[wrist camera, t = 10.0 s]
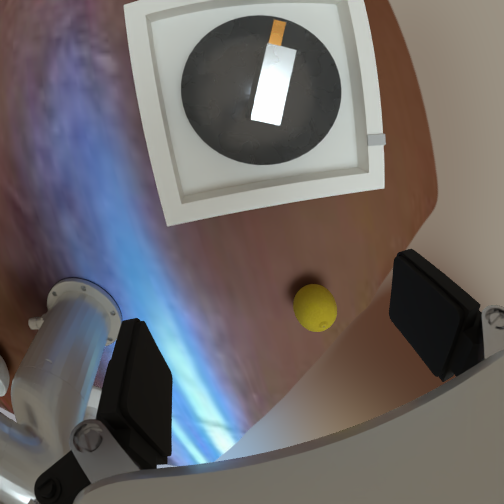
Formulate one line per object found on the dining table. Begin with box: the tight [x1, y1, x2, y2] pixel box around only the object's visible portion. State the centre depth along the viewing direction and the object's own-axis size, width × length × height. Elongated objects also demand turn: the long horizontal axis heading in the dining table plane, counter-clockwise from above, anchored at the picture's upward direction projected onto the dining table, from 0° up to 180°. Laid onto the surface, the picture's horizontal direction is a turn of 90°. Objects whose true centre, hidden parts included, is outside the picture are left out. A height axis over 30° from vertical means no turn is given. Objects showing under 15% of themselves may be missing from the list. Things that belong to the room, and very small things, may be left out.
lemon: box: [293, 284, 337, 332], centre depth 38 cm, size 6×6×8 cm
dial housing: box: [124, 0, 386, 227], centre depth 26 cm, size 24×24×5 cm
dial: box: [181, 15, 341, 165], centre depth 24 cm, size 16×16×6 cm
